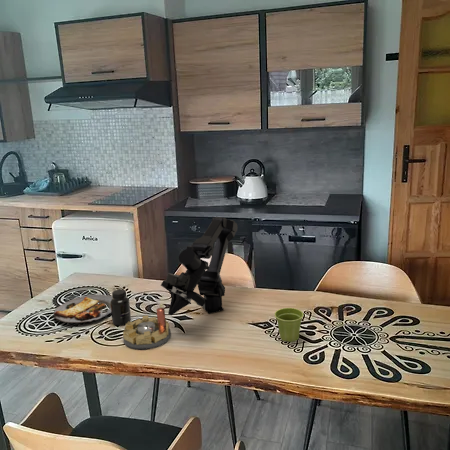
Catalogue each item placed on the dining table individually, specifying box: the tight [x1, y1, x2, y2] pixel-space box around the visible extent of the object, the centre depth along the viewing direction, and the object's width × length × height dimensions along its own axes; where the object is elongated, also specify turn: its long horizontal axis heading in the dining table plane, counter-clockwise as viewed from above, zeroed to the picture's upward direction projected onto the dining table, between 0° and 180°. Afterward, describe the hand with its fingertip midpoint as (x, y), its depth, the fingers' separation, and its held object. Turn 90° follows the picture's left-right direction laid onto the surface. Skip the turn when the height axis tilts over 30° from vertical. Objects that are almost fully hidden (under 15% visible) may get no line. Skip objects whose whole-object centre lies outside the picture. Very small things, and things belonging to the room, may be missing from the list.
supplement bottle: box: [110, 289, 132, 327], centre depth 166 cm, size 7×7×12 cm
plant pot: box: [274, 307, 304, 343], centre depth 150 cm, size 9×9×9 cm
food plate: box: [52, 294, 113, 324], centre depth 177 cm, size 25×23×4 cm
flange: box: [122, 322, 172, 351], centre depth 155 cm, size 16×16×5 cm
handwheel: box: [122, 307, 170, 345], centre depth 154 cm, size 15×15×10 cm
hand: (169, 314), depth 153 cm, fingers closed
